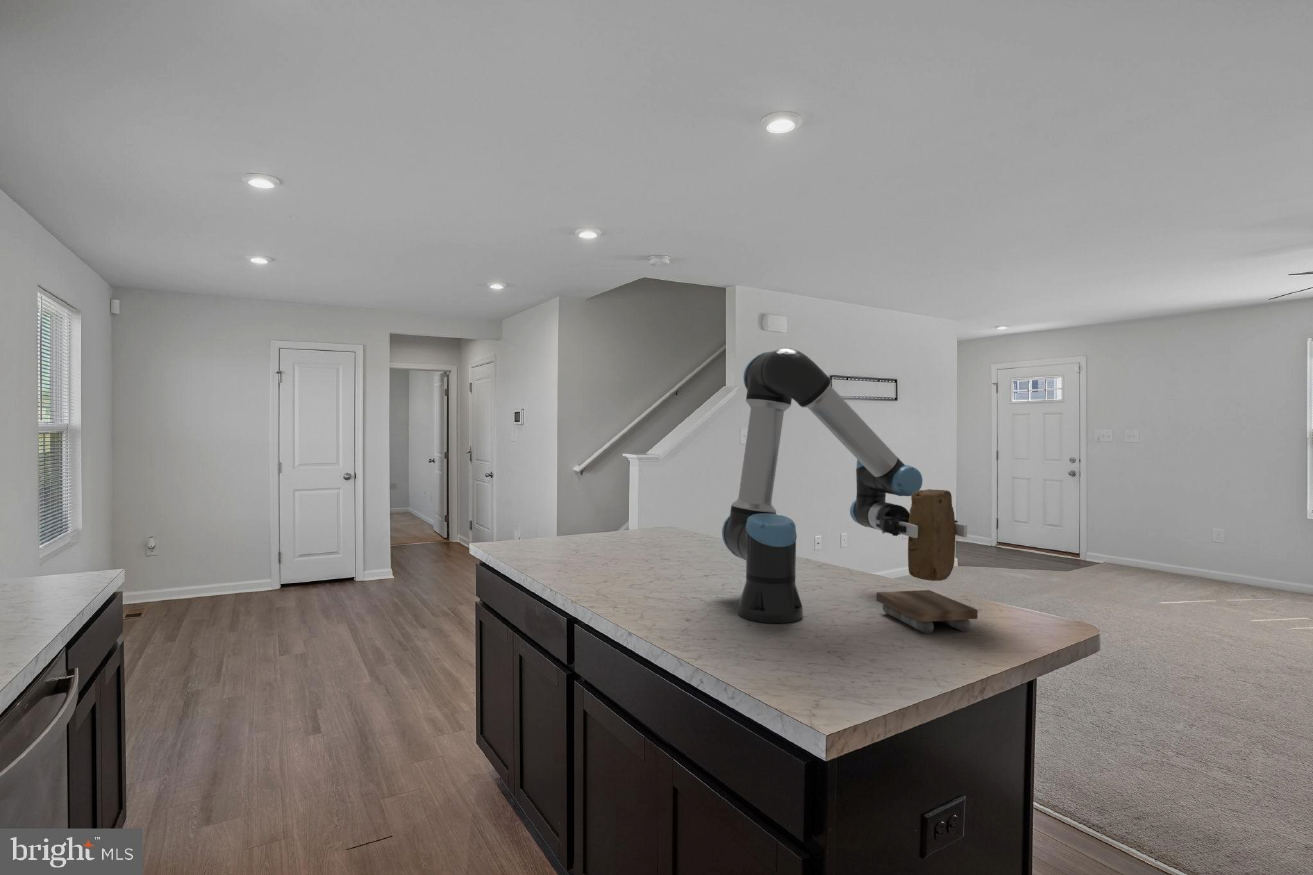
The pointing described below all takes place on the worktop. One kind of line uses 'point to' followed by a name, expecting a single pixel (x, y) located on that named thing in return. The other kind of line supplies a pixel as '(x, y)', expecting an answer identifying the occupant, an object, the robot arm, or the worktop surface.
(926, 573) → the block
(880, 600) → the slab
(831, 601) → the worktop surface
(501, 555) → the worktop surface
